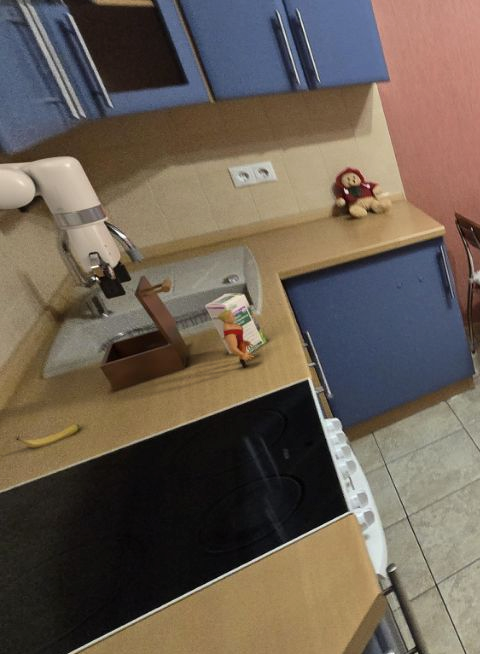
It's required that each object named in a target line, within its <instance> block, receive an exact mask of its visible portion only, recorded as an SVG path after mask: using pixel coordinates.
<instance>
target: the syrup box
mask: <svg viewBox="0 0 480 654" xmlns="http://www.w3.org/2000/svg"><path fill="white" fill-rule="evenodd" d="M204 306H205V309H206V311H207V313H208V314H209V316H210V319H211V320H212V322H213V325H214V326H215V328H216V330H217V332H218V334H219V336H220V339H221V340H222V342H223V344H224V346H225V348H226V350H227V352H228V354H229V355H234V354H233V353H232V352H231V351H230V350H229V349H228V345H227V343H226V339H225V338H224V332H223V324H224V322H222V320H221V319H219V317H218V316H219V315H220V314H221V313H223V312H225V311H226V310H230V311H231V312H232V314H233V315H234V316H235V317H236V318H235V319H236V322H234V323H235V324H238V325H240V326H241V327H243V340H247V341H249V342H251V344H253V345H254V346H251V345H250V346H251V348H250V347H249V346H248V348H249V349H247V346H246V353H247V352H250V353H251V354H252V353H253V351H255V350H257V349H258V348H259V347H261V346H263V344H266V343H267V340H266V337H265V336H264V333H263V331H262V328H261V327H260V324H259V323H258V320H257V319H256V316H255V314H254V312H253V310H252V308H251V306H250V303H249V301H248V299H247V297H246V295H245V294H244V293H237V292H233V293H232V292H231V293H224V294H223V295H221V296H220V297H217V298H215V299H214V300H213V301H211V302H209V303H206V304H205V305H204ZM237 349H238V348H237ZM238 350H239V349H238Z"/></svg>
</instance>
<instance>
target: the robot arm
mask: <svg viewBox="0 0 480 654" xmlns="http://www.w3.org/2000/svg"><path fill="white" fill-rule="evenodd" d="M37 196H40V197H42V199H43V200H44V202H45V204H46V206H47V207H48V209H49V211H50V213H51V215H52V216H53V219H54V220H55V221H56V223H57V225H58V228H59V229H60V230H66V234H67V237H68V239H69V241H70V244H71V246H72V249H73V250H74V252H75V254H76V257H77V259H78V261H79V263H80V265H81V267H82V269H83V271H84V272H85V273H86V274H92V273H94V277H95V280H96V282H97V284H98V286H99V288H100V290H101V291H102V293H103V295H104V297H105V299H107V300H111V299H115V298H119V297H123V296H125V295H126V294H127V293H126V291H125V288H124V286H123V285H122V284H124V283H127V282H131V281H132V277H131V275H130V273H129V271H128V269H127V267H126V265H125V264H124V262H123V260H122V259H121V253H120V250H119V248H118V246H117V243H116V242H115V240H114V238H113V236H112V234H111V233H110V231H109V229H108V227H107V225H106V224H105V222H106V221H107V220H109V218H108V217H109V216H108V215H107V213H106V211H105V209H104V207H103V205H102V203H101V201H100V199H99V198H98V196H97V193H96V191H95V189H94V188H93V186H92V184H91V182H90V180H89V177H88V176H87V174H86V172H85V170H84V168H83V166H82V164H81V163H80V161H79V160H78V159H77V158H75V157H72V156H68V155H67V156H55V157H54V156H53V157H47V158H42V159H37V160H34V161H28V162H15V163H14V162H13V163H0V210H15V209H19V208H22V207H25V206H27V205H28V204H30V203H31V202H32V201H33V199H34V198H35V197H37Z"/></svg>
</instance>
